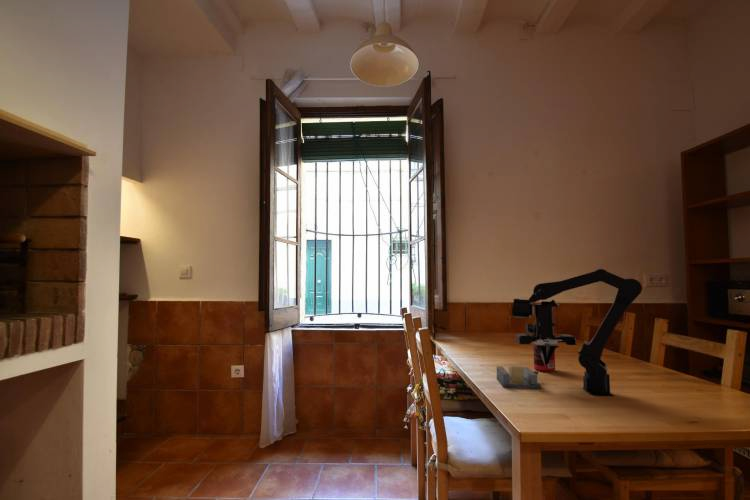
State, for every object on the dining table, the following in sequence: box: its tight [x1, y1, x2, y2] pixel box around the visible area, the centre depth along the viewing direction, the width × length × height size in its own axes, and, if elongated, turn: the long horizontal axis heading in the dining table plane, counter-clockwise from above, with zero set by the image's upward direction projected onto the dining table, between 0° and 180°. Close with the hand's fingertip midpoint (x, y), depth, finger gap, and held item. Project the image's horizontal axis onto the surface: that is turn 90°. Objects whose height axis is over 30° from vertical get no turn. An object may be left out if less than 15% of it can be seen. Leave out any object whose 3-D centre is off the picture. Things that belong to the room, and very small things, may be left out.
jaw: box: [523, 366, 539, 384], centre depth 126 cm, size 5×10×3 cm, turn 174°
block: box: [508, 363, 525, 382], centre depth 127 cm, size 4×4×5 cm
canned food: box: [532, 342, 556, 373], centre depth 145 cm, size 8×8×11 cm
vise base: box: [496, 365, 541, 390], centre depth 127 cm, size 12×10×5 cm
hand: (545, 364), depth 126 cm, fingers closed
